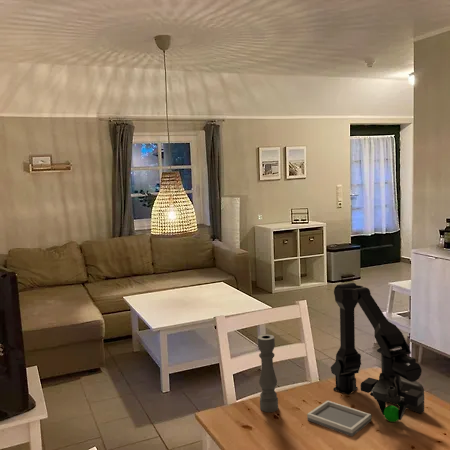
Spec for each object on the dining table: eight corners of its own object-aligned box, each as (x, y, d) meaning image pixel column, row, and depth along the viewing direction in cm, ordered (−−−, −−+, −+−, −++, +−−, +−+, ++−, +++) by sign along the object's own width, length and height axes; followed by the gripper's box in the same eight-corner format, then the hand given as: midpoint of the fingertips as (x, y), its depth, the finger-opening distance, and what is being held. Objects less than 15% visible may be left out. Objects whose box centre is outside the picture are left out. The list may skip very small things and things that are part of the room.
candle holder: (257, 411, 169) (254, 339, 166) (263, 402, 174) (260, 333, 172) (275, 413, 166) (272, 340, 164) (280, 405, 172) (277, 334, 169)
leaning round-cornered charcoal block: (429, 410, 163) (429, 383, 162) (422, 415, 160) (422, 387, 159) (385, 395, 175) (385, 369, 174) (378, 399, 172) (377, 373, 171)
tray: (307, 420, 161) (307, 413, 160) (327, 406, 169) (327, 400, 169) (352, 436, 149) (351, 429, 149) (371, 420, 158) (371, 414, 158)
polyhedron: (398, 426, 154) (397, 411, 154) (382, 422, 157) (381, 408, 156) (401, 419, 158) (401, 404, 158) (386, 415, 161) (385, 401, 160)
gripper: (351, 370, 156) (352, 418, 158) (409, 386, 143) (410, 437, 145) (368, 359, 164) (369, 405, 166) (424, 373, 151) (425, 422, 153)
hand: (391, 417), depth 157 cm, fingers closed on polyhedron, 5 cm apart
